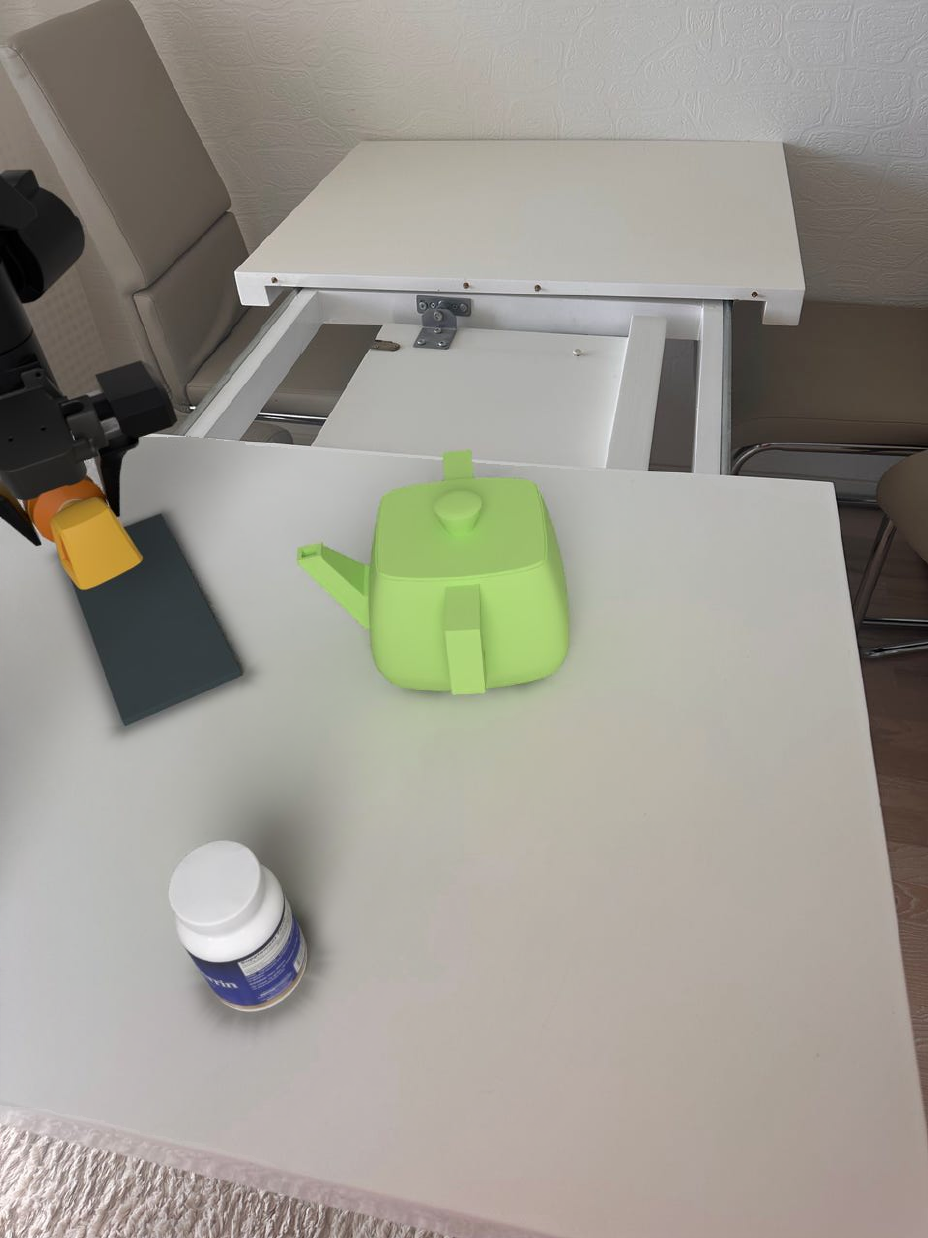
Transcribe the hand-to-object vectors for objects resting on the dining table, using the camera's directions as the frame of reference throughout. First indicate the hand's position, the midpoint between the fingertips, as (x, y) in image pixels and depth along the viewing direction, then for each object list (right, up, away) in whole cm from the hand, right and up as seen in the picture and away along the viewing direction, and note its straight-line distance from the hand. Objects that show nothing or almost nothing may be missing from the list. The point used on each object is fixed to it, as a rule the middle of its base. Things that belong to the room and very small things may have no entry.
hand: (77, 528), depth 71 cm
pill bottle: (+17, -27, -16) cm, 36 cm away
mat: (+3, -6, +5) cm, 9 cm away
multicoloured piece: (0, -1, +1) cm, 1 cm away
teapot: (+28, -8, 0) cm, 29 cm away
